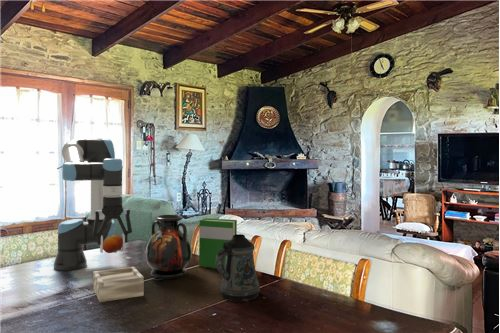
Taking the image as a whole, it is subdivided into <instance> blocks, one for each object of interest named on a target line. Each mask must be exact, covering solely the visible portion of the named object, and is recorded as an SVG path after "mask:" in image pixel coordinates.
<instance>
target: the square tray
mask: <svg viewBox="0 0 500 333" xmlns="http://www.w3.org/2000/svg"><path fill="white" fill-rule="evenodd" d="M92 273H93V282H92V284H93V288H92V289H93V291H94V293H95V295H96V297H97V299H98V301H99V303H103V302H105V303H106V302H111V301H116V300H117V301H118V300H124V299H128V298H129V299H130V298H136V297H143V296H145V295H144V292H145V288H144V287H145V285H144V283H145V282H144V280H145V279H144V278H145V277H144V275H142V273H140V271H139V270H138V269H137V268H136V267H135V266H129V267H128V266H127V267H121V268H120V267H119V268H111V269H104V270H103V269H102V270H95V271H94V270H93V272H92Z"/></svg>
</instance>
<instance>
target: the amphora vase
mask: <svg viewBox="0 0 500 333" xmlns="http://www.w3.org/2000/svg"><path fill="white" fill-rule="evenodd" d="M154 218H155V221H153V222H152V225H151V236H150V239H149V240H148V241H147V242H148V243H147V244H146V248H145V261H146V263H147V265H148V266H149V268H151V271H150V275H151V276H152V277H153V278H155V279H158V280H159V279H160V280H174V279H178V278H182V277H183V276H185V275H186V273H187V270H186V267H187V266H188V264H189V263H190V261H191V258H192V247H191V242H190V241H189V239H188V236H187V235H188V234H187V233H188V230H187V226H186V224H185V223H183V222H181V221H182V220H183V219H184V218H183V216H182V215H179V214H161V215H160V214H159V215H157V216H155V217H154ZM179 222H180V223H179ZM156 225H157V226H158V228H157V230H156ZM180 227H182V230H181V229H180Z"/></svg>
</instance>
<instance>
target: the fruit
mask: <svg viewBox="0 0 500 333" xmlns="http://www.w3.org/2000/svg"><path fill="white" fill-rule="evenodd" d="M122 243H123V242H122V236H120V235H118V234H117V235H116V234H114V235H112V236H110V237H107V238H106V239H105V240H104V242H103V252H105V253H107V254H113V253H116V254H117V253H118V252H119V251H121V252H123V250H122Z"/></svg>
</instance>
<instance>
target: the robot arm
mask: <svg viewBox="0 0 500 333" xmlns="http://www.w3.org/2000/svg"><path fill="white" fill-rule="evenodd" d="M115 154H116V152H115V147H114V143H113V141H112V140H111V139H109V138H93V137H92V138H91V137H89V138H87V137H86V138H85V137H84V138H83V137H80V138H79V137H78V138H75V139H71V140H70V141H68V142H67V143H66V144H64V145H63V147H62V149H61V155H62V157H63V159H64V161H65V162H63V163H62V166H61V167H62V170H61V171H62V180H64V181H69V182H75V181H76V182H78V181H79V182H80V181H84V182H85V181H90V214H89V215H88V217H87V221H84V219H82V218H73V219H67V220H64V221H62V222H60V223H59V224H58V226H57V253H56V256H55V260H54V262H53V270H56V271H76V270H80V269H83V268H86V267H87V266H88V265H87V264H88V263H87V258H86V255H85V252H84V246H85V245H98V246H99V252H100V254H103V253H104V250H103V242H104V240H105V239H106V238H107V237H110V236H112V235H115V230H116V229H115V226H116V222H115V220H117V222H118V224H119V226H120V228H121V231H122V232H123V233H121V238H122V242H123V243H122V248H121V250H122V252H125V251H126V249H125V248H126V245H125V244H126V243H127V242H128V235H129V234H132V233H133V228H132V223H131V219H130V218H131V217H130V213H131V210H130V209H128V208H123V196H122V195H123V160H122V159H121V158H116V155H115ZM122 214H123V215H125V221H126V226H127V229H126V226H125V224H124V222H123V220H122V217H121V215H122ZM113 219H114V220H113Z"/></svg>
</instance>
